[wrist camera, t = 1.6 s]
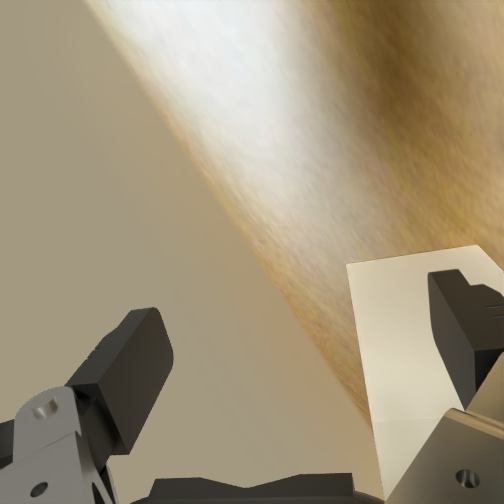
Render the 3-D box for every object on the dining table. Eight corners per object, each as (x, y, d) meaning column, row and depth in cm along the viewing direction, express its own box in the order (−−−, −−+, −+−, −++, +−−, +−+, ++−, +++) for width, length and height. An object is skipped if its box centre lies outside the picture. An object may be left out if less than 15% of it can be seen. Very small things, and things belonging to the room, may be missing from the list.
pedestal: (345, 264, 48) (372, 422, 26) (477, 244, 45) (633, 404, 23) (357, 336, 51) (389, 530, 29) (480, 323, 48) (617, 527, 26)
